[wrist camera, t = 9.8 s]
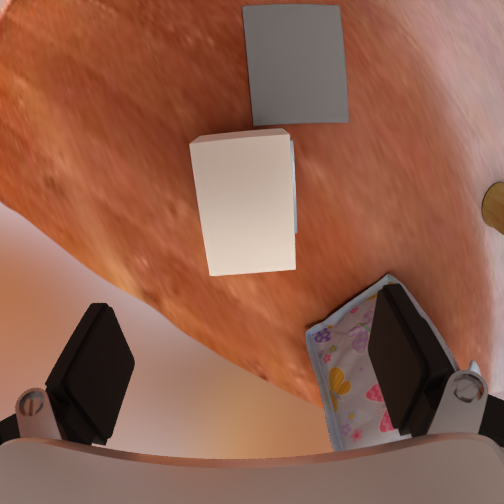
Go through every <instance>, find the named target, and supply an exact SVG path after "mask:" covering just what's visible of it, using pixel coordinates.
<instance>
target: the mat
mask: <svg viewBox="0 0 504 504" xmlns="http://www.w3.org/2000/svg"><path fill="white" fill-rule="evenodd" d="M242 10H243V20H244V30H245V40H246V50H247V61H248V71H249V82H250V93H251V104H252V115H253V126H262V125H277V124H297V123H349V115H348V94H347V78H346V64H345V53H344V42H343V32H342V23H341V15H340V7H339V6H336V5H318V4H270V5H252V6H242Z"/></svg>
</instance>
